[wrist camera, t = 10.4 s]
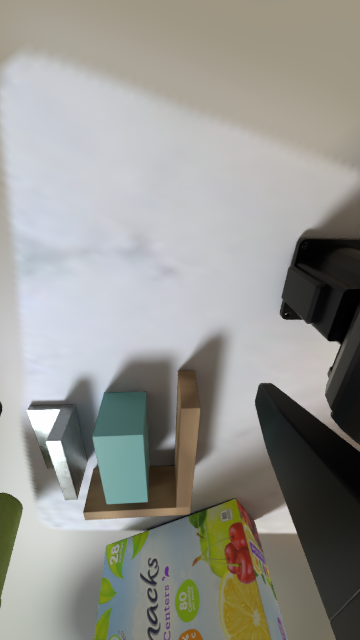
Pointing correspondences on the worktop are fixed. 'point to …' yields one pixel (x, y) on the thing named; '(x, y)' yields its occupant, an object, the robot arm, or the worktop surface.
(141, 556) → the snack box
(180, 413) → the tan wooden l-shaped piece
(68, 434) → the bookend
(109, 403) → the teal rectangular block
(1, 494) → the plant pot
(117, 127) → the worktop surface
